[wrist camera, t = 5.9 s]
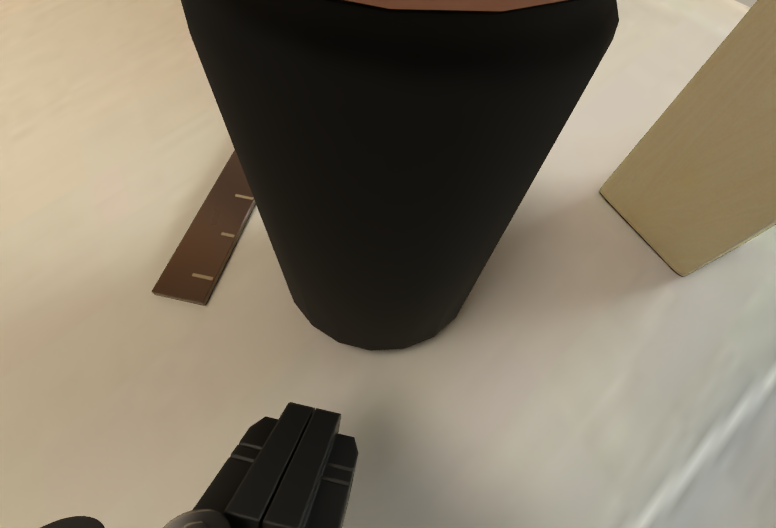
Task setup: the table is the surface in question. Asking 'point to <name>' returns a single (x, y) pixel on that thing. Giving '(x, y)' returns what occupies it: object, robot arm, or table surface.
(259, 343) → the table surface
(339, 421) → the robot arm
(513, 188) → the coffee jar
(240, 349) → the table surface
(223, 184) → the walnut ruler
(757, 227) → the beige tall block
